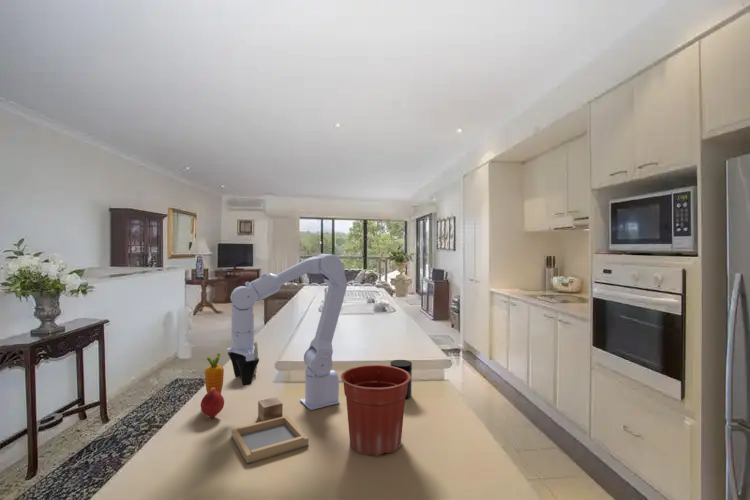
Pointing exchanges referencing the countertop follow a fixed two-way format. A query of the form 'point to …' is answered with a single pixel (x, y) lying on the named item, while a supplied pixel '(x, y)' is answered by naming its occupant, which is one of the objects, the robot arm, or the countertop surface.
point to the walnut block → (269, 409)
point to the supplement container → (407, 367)
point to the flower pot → (375, 407)
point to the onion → (212, 403)
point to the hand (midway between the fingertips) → (243, 380)
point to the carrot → (214, 375)
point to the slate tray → (268, 438)
